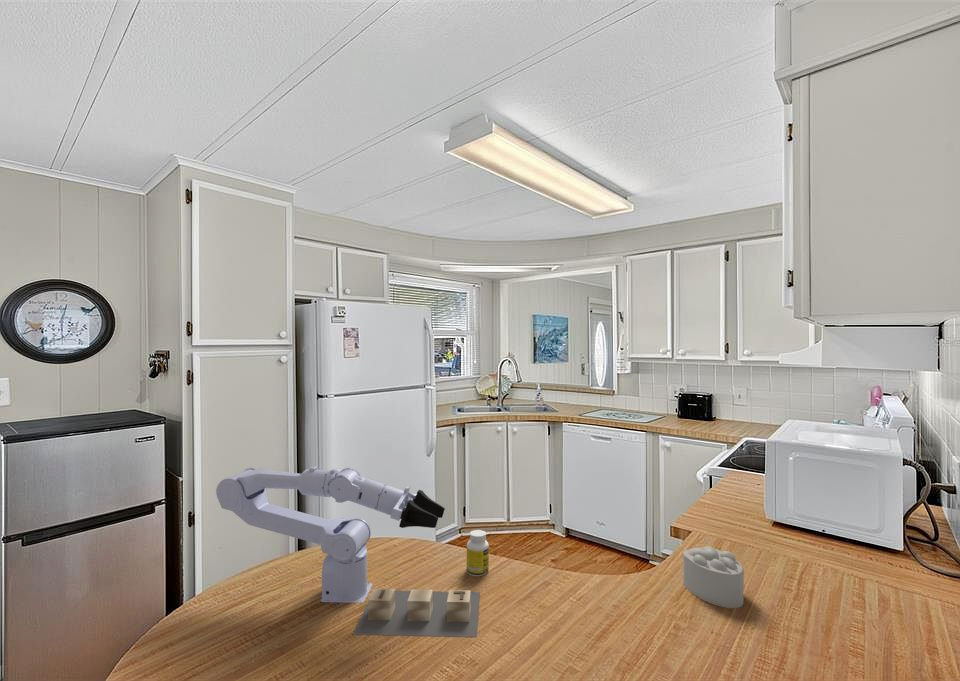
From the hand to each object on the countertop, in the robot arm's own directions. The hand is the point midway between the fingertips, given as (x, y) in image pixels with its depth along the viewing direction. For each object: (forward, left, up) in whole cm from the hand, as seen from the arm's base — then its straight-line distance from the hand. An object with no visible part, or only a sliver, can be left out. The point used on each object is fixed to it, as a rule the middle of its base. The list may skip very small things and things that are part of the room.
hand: (440, 517), depth 105 cm
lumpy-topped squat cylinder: (+62, +6, -19) cm, 65 cm away
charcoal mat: (-3, -5, -18) cm, 19 cm away
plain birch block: (-3, -6, -18) cm, 19 cm away
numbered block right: (+5, -6, -18) cm, 19 cm away
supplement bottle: (+8, +13, -19) cm, 24 cm away
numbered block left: (-11, -6, -18) cm, 22 cm away
